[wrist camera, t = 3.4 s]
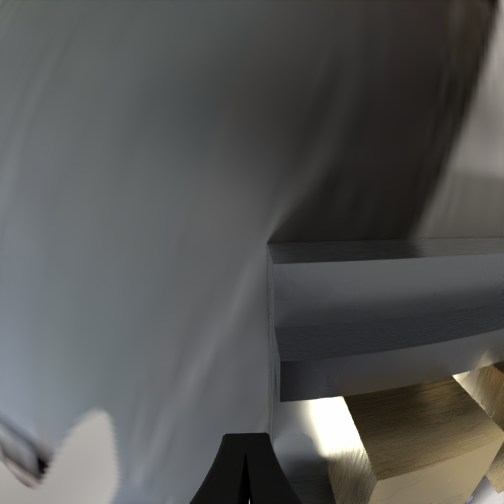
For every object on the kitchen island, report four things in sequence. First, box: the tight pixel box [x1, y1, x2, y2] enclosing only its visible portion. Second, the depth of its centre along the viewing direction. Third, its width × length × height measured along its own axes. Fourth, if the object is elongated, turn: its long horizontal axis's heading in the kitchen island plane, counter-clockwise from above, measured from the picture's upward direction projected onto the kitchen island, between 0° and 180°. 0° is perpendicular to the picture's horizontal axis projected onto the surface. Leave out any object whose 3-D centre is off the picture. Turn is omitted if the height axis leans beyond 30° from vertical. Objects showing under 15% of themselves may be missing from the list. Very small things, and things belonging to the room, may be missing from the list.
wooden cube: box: [326, 376, 504, 504], centre depth 8 cm, size 4×4×4 cm
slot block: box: [267, 237, 504, 504], centre depth 10 cm, size 12×20×5 cm, turn 92°
